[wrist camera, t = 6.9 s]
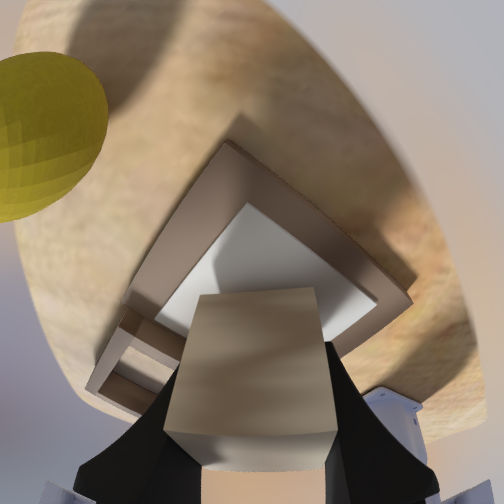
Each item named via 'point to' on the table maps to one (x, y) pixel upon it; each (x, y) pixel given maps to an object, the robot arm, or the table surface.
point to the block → (254, 384)
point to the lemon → (46, 129)
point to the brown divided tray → (243, 270)
